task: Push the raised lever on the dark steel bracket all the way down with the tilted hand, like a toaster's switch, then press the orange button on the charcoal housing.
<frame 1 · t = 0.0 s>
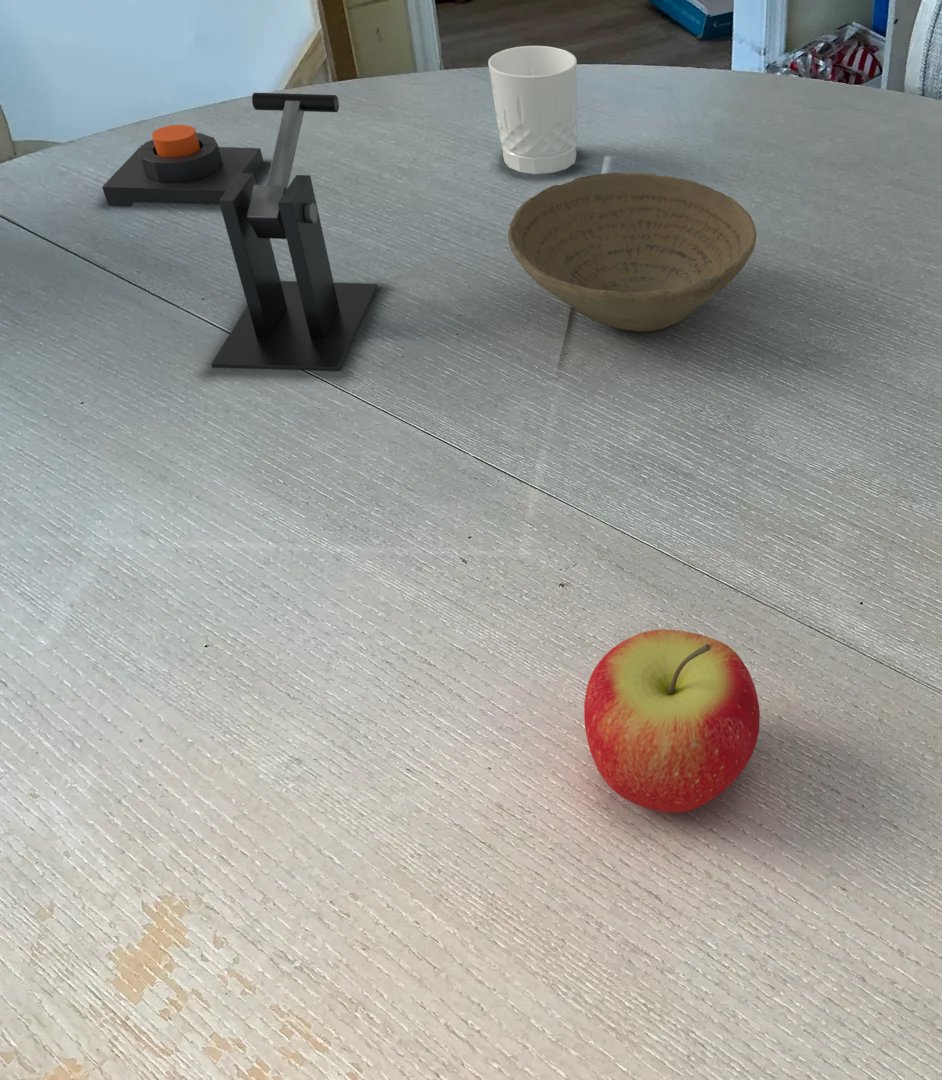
bracket: (301, 335, 89), on the table
white cup: (541, 169, 112), on the table
button: (176, 142, 104), point 4 cm above the table, slide at 0.1 cm
lever: (282, 160, 84), point 12 cm above the table, hinge at 25.0°
button box: (190, 189, 107), on the table
apple: (671, 778, 59), on the table
bowl: (635, 319, 92), on the table
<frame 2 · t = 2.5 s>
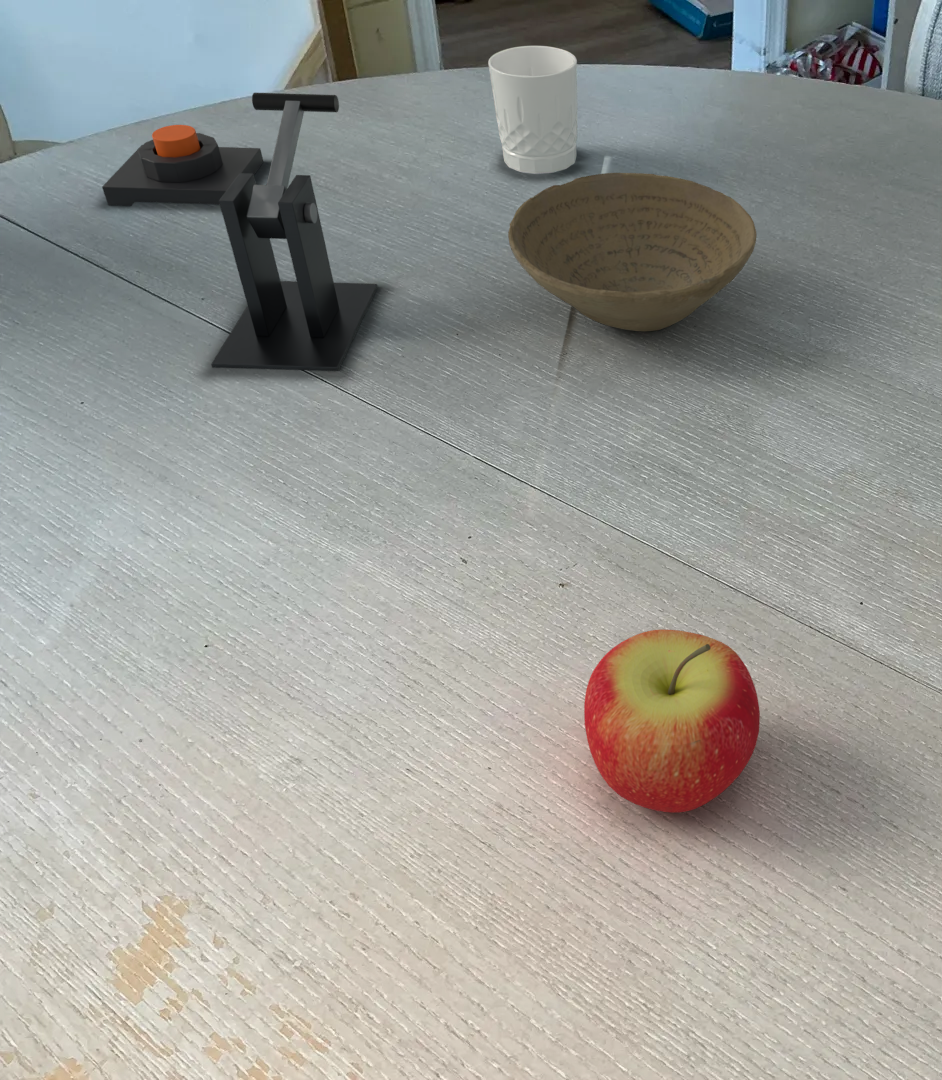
nothing on the table moved.
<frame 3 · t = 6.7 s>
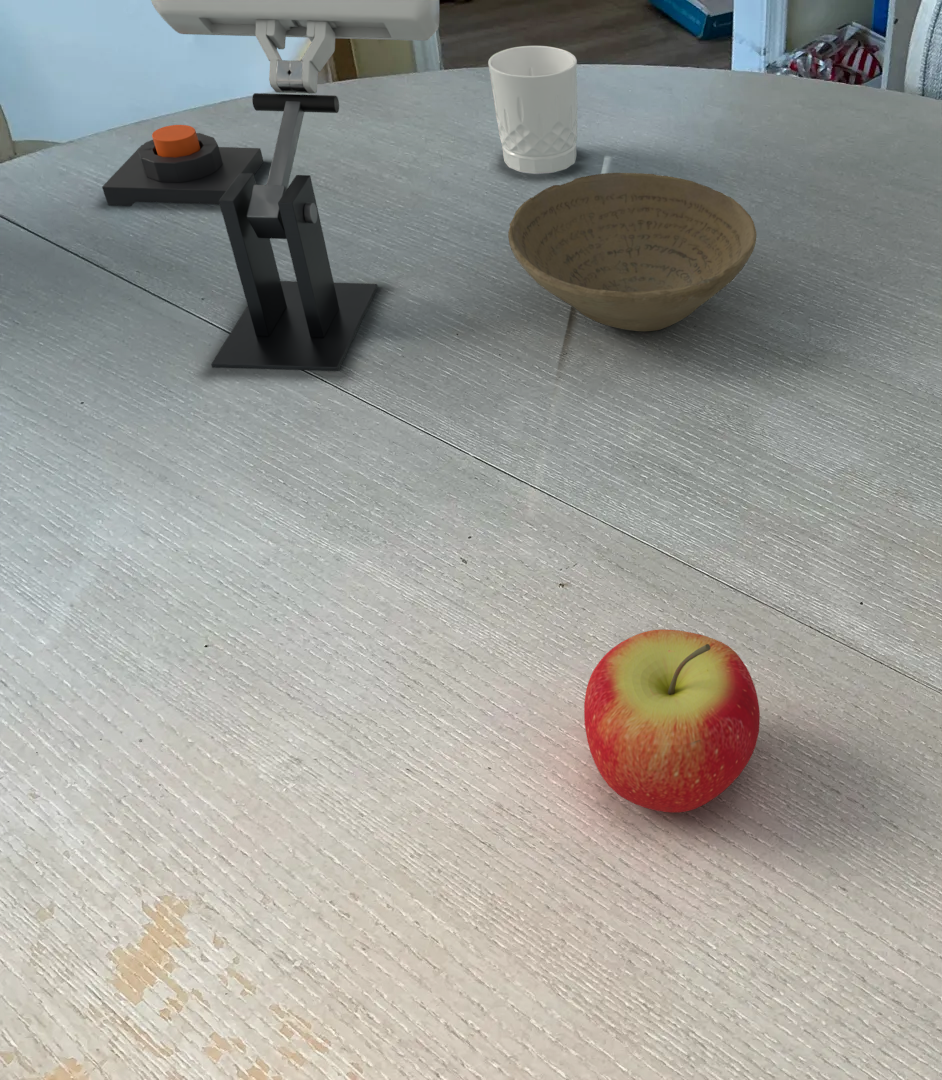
hand: (293, 89, 86), 15 cm above the table, tool tilted 45°, fingers closed, pressing on lever
lever: (283, 160, 84), point 12 cm above the table, hinge at 24.6°, touching gripper
everything else where it was.
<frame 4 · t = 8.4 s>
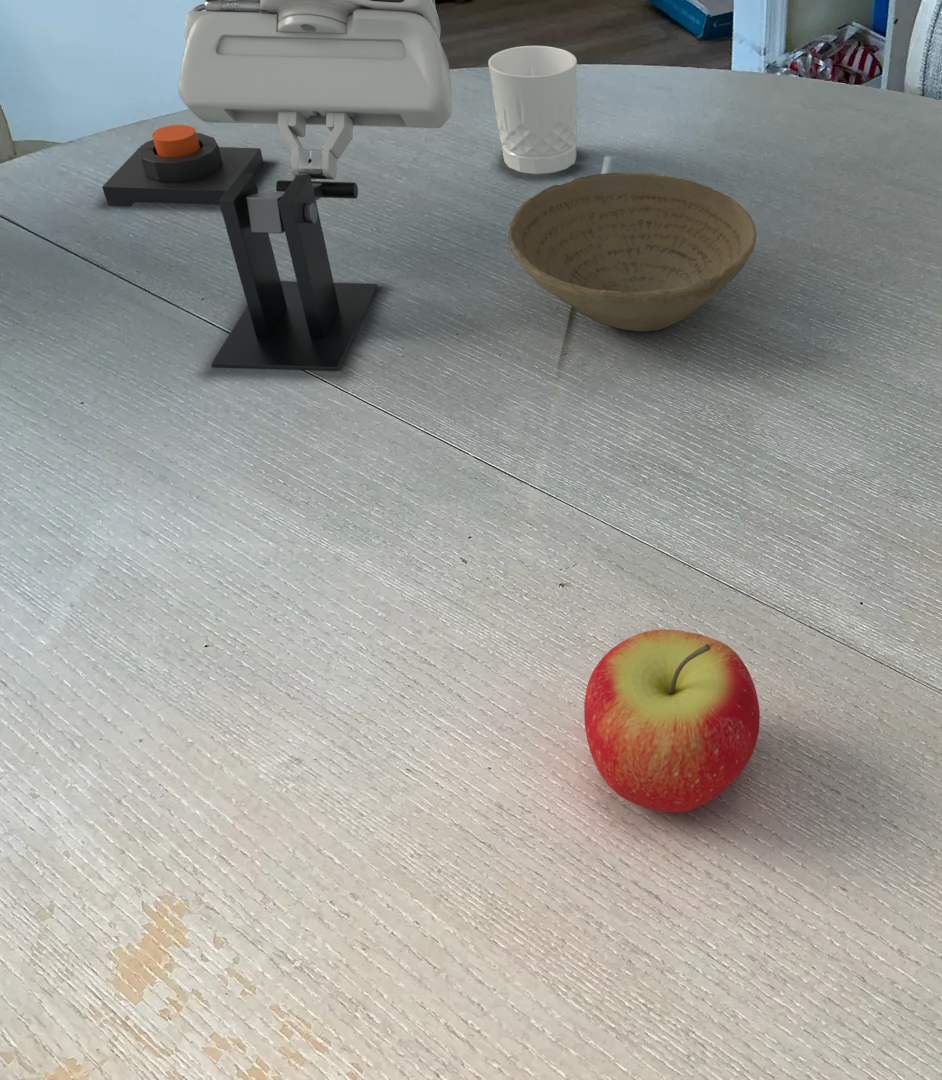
hand: (313, 176, 90), 8 cm above the table, tool tilted 45°, fingers closed, pressing on lever
lever: (293, 201, 86), point 9 cm above the table, hinge at -16.1°, touching gripper
everything else where it was.
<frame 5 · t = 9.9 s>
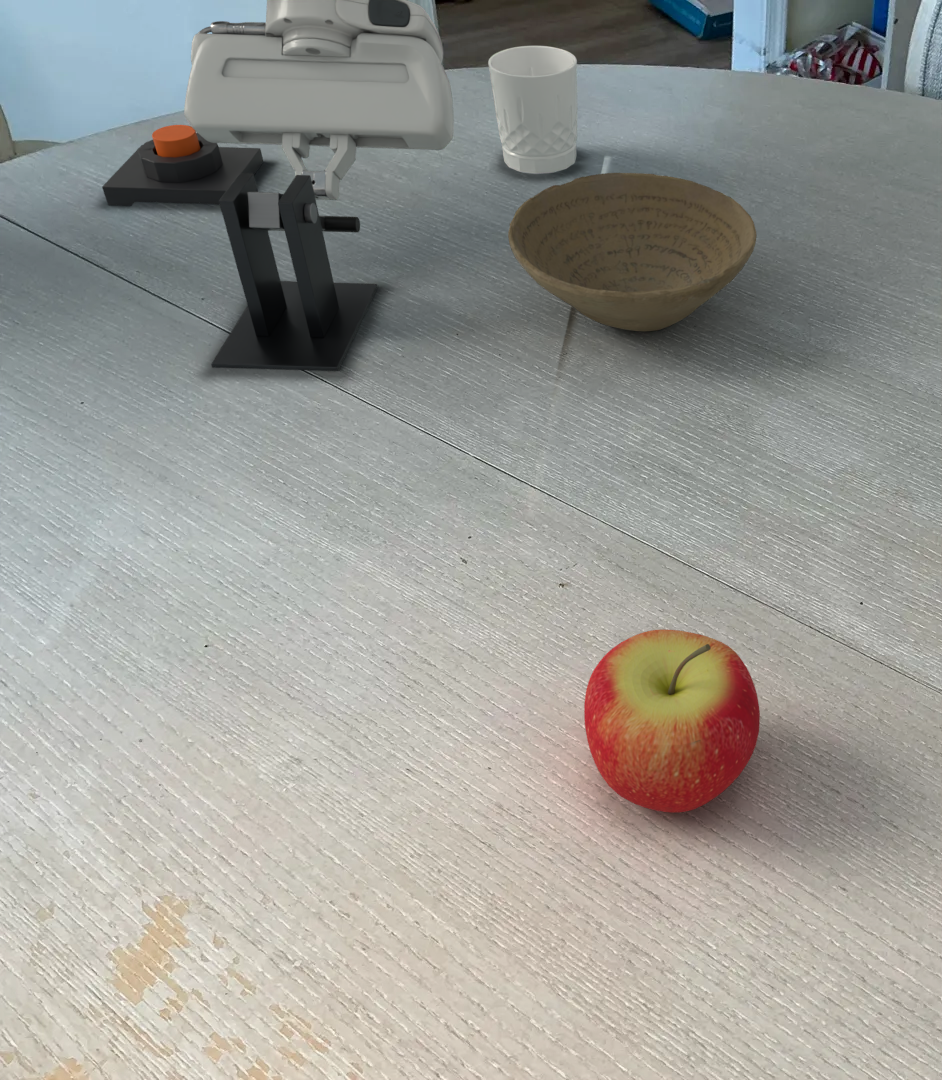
hand: (316, 197, 91), 7 cm above the table, tool tilted 45°, fingers closed
lever: (295, 217, 87), point 8 cm above the table, hinge at -30.8°
everything else where it was.
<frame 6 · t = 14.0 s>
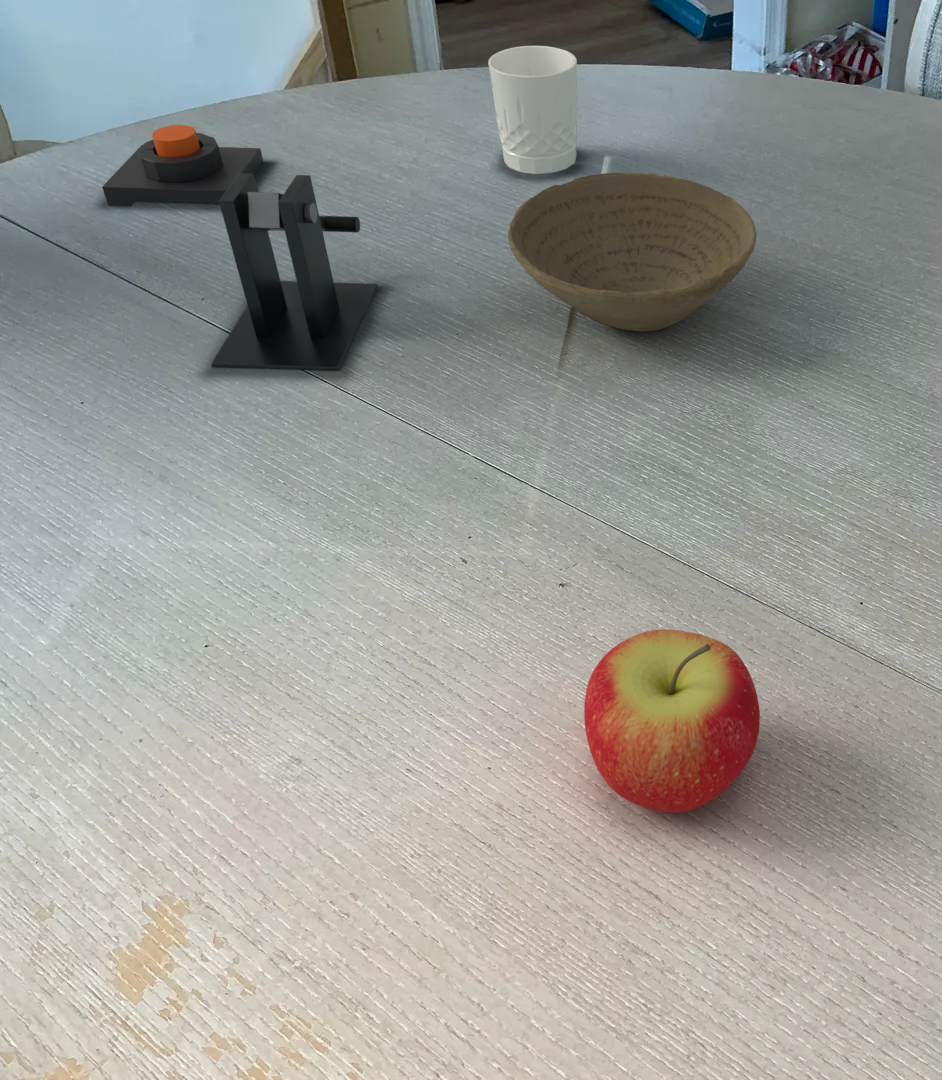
nothing on the table moved.
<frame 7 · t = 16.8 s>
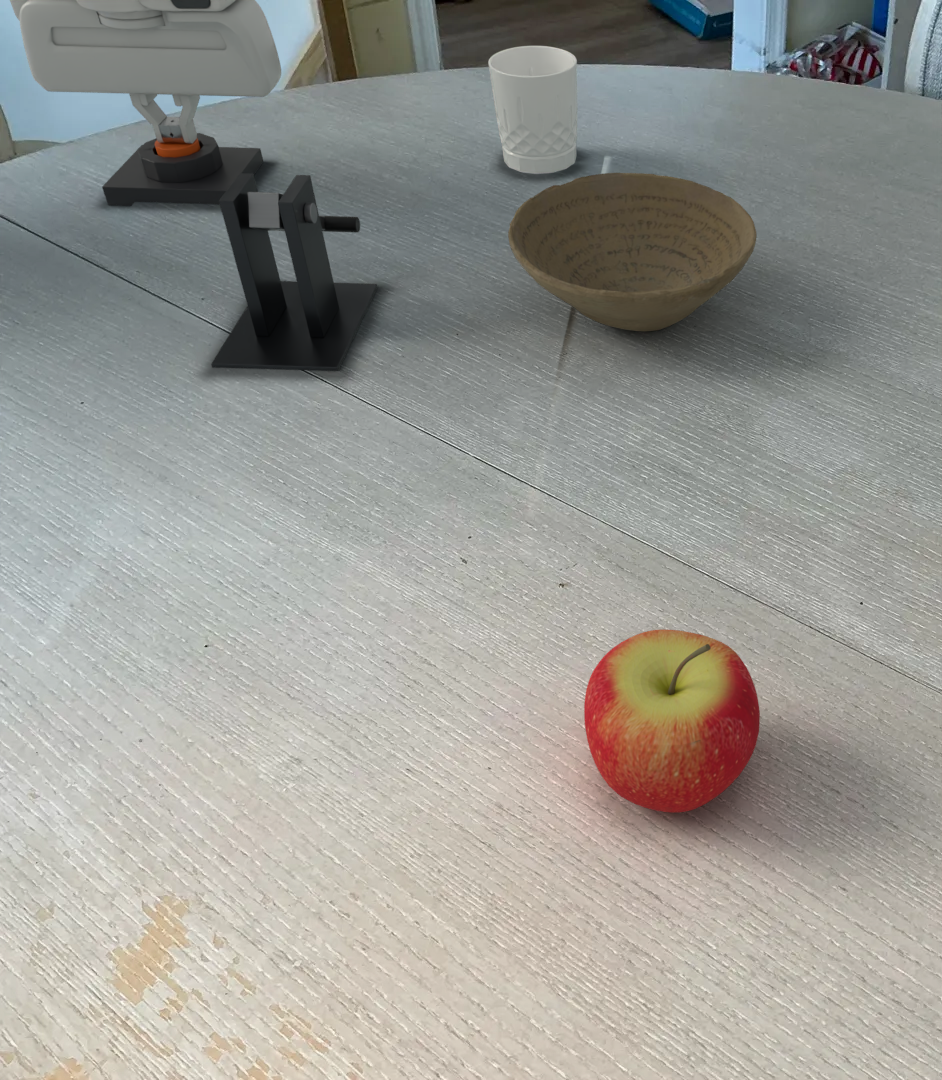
hand: (178, 140, 104), 5 cm above the table, tool pointing down, fingers closed, pressing on button
button: (178, 150, 104), point 4 cm above the table, slide at -0.7 cm, touching gripper
everything else where it was.
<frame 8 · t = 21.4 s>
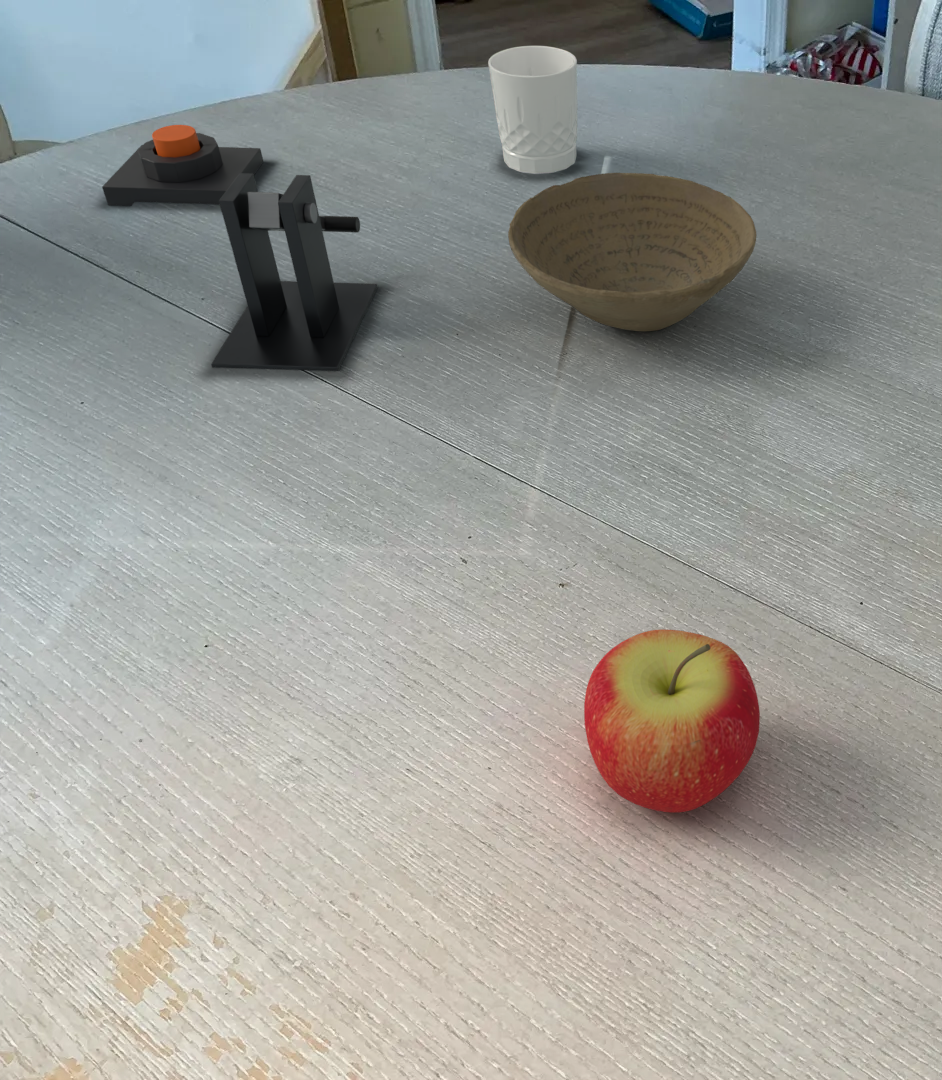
button: (176, 142, 104), point 4 cm above the table, slide at 0.1 cm
everything else where it was.
at the end: lever at -31° (first picture: +25°); button pushed in 1.0 cm at the most during the clip, back to where it started at the end; button slide at 0.1 cm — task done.
